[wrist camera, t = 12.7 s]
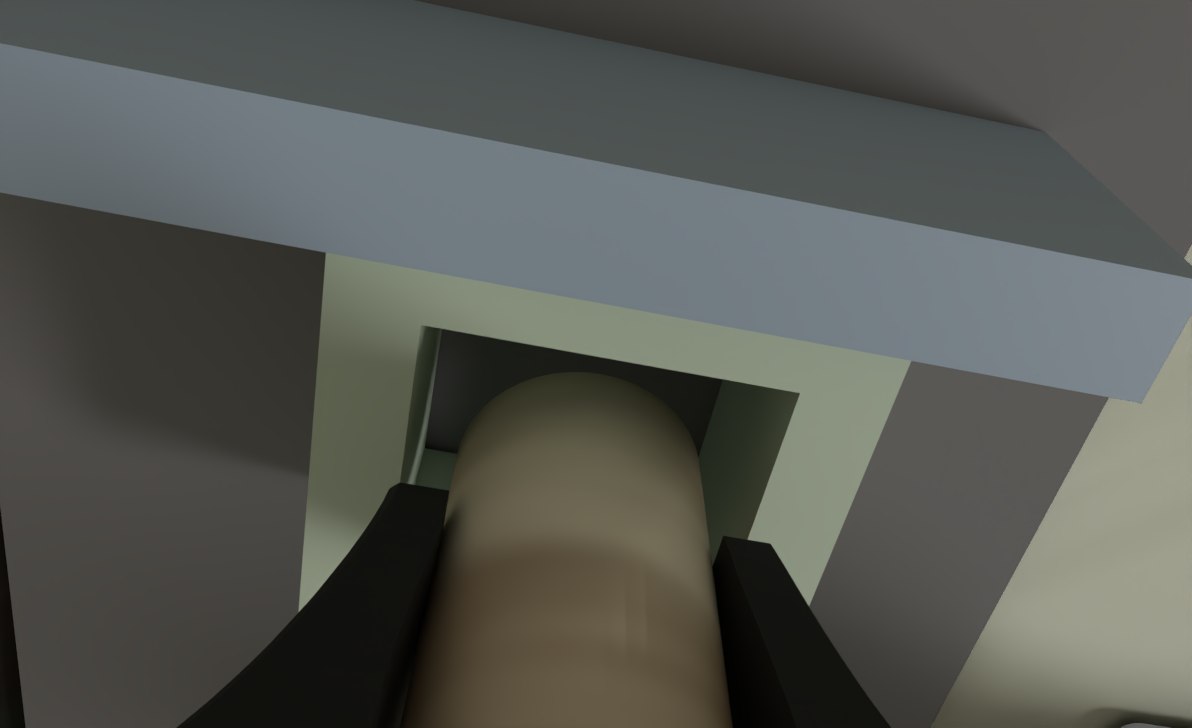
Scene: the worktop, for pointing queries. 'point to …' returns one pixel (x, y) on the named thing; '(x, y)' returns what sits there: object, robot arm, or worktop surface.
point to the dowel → (572, 570)
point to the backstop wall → (593, 178)
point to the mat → (526, 373)
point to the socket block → (741, 358)
